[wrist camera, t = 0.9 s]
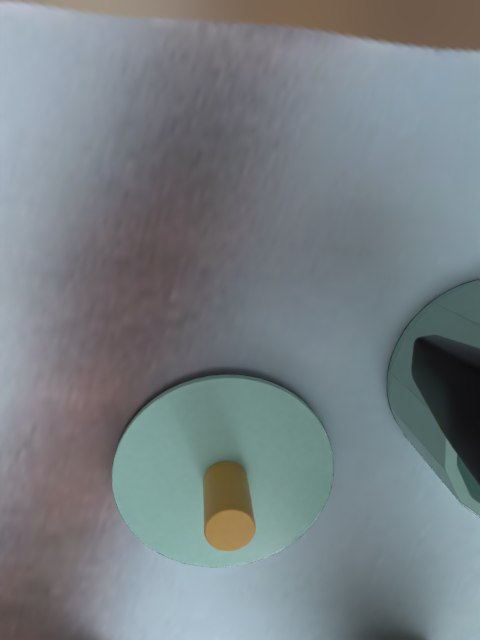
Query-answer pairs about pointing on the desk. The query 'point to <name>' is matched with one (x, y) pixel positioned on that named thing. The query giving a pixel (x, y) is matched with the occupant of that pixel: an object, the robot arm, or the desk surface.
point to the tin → (407, 402)
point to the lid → (222, 471)
